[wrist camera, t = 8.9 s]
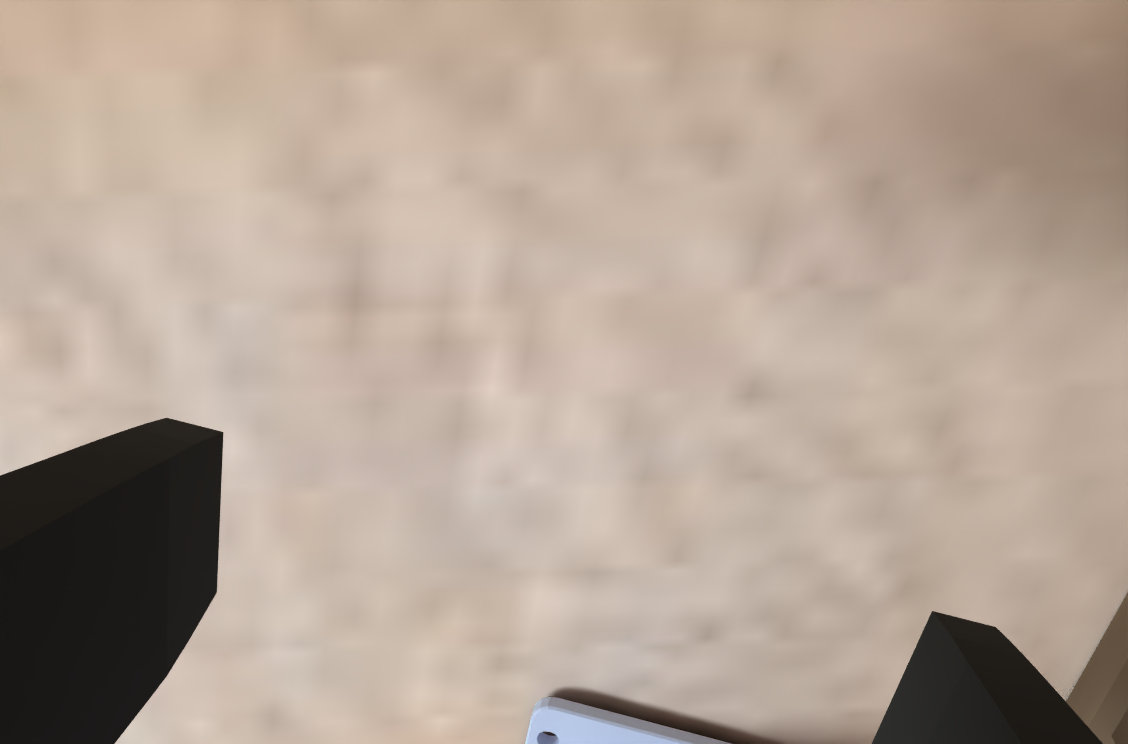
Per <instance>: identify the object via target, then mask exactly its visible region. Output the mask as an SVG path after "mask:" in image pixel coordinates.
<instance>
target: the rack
mask: <svg viewBox="0 0 1128 744" xmlns="http://www.w3.org/2000/svg"><path fill="white" fill-rule="evenodd" d="M1066 703H1067V704H1068V705H1069V706H1070V707H1071V708H1072V709H1073V710H1074V712H1075V713H1076V714H1077V715H1078V716H1079V717H1080V718H1081V719H1082V721H1083V722H1084V723H1085V724H1086V725H1087V726H1088V727H1089V728H1090V730H1091V731H1092V732H1093V733H1094V734H1095V735H1096V736H1097V737H1098V739H1099V740H1100V741H1101V742H1102V743H1103V744H1128V593H1127V595H1126V597H1125V598H1124V600H1123V602H1122V604H1121V606H1120V607H1119V609H1118V611H1117V613H1116V614H1115V616H1114V618H1113V620H1112V622H1111V623H1110V625H1109V627H1108V629H1107V630H1106V632H1105V634H1104V636H1103V637H1102V639H1101V641H1100V643H1099V645H1098V646H1097V648H1096V650H1095V652H1094V653H1093V655H1092V657H1091V659H1090V661H1089V662H1088V664H1087V666H1086V668H1085V669H1084V671H1083V673H1082V675H1081V677H1080V678H1079V680H1078V682H1077V684H1076V685H1075V687H1074V689H1073V691H1072V693H1071V694H1070V696H1069V698H1068V700H1067V701H1066Z"/></svg>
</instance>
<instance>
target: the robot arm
mask: <svg viewBox="0 0 1128 744" xmlns="http://www.w3.org/2000/svg"><path fill="white" fill-rule="evenodd" d="M222 451H223V432H221V431H217V430H213V429H209V428H205V427H201V426H197V425H193V424H189V423H185V422H181V421H177V420H173V419H169V418H164V419H161V420H157V421H153V422H150V423H146V424H143V425H140V426H137V427H134V428H131V429H128V430H125V431H122V432H119V433H116V434H114V435H111V436H108V437H105V438H102V439H99V440H97V441H94V442H91V443H88V444H86V445H83V446H80V447H78V448H75V449H72V450H69V451H67V452H64V453H61V454H59V455H56V456H53V457H50V458H48V459H45V460H42V461H39V462H37V463H34V464H31V465H28V466H26V467H23V468H20V469H17V470H15V471H12V472H9V473H6V474H4V475H1V476H0V744H114V743H115V742H116V741H117V740H118V738H119V737H120V736H121V734H122V733H123V732H124V731H125V729H126V728H127V727H128V725H129V724H130V723H131V722H132V720H133V719H134V718H135V716H136V715H137V714H138V713H139V711H140V710H141V709H142V708H143V706H144V705H145V704H146V702H147V701H148V700H149V699H150V697H151V696H152V695H153V693H154V692H155V691H156V689H157V688H158V687H159V685H160V684H161V683H162V682H163V680H164V679H165V678H166V676H167V675H168V673H169V671H170V670H171V668H172V667H173V665H174V663H175V662H176V660H177V659H178V657H179V655H180V654H181V652H182V650H183V649H184V647H185V646H186V644H187V642H188V641H189V639H190V638H191V636H192V634H193V632H194V631H195V629H196V627H197V625H198V624H199V622H200V620H201V619H202V617H203V615H204V613H205V612H206V610H207V608H208V606H209V605H210V603H211V601H212V600H213V598H214V596H215V594H216V593H217V573H218V548H219V524H220V499H221V475H222ZM544 731H546V732H552V733H554V734H556V736H549V735H547V734H544V733H543V732H544ZM525 744H731V743H727V742H724V741H720V740H716V739H712V738H708V737H705V736H701V735H697V734H693V733H690V732H686V731H682V730H678V729H674V728H671V727H667V726H663V725H659V724H656V723H652V722H648V721H644V720H640V719H637V718H633V717H629V716H625V715H621V714H618V713H614V712H610V711H606V710H603V709H599V708H595V707H591V706H587V705H584V704H580V703H576V702H572V701H569V700H565V699H561V698H556V697H547V698H543V699H541V700H540V701H538V702H537V703H536V705H535V707H534V709H533V713H532V717H531V721H530V725H529V729H528V734H527V738H526V742H525ZM872 744H1103V743H1102V742H1101V741H1100V740H1099V739H1098V737H1097V736H1096V735H1095V734H1094V733H1093V732H1092V731H1091V730H1090V728H1089V727H1088V726H1087V725H1086V724H1085V723H1084V722H1083V721H1082V719H1081V718H1080V717H1079V716H1078V715H1077V714H1076V713H1075V712H1074V710H1073V709H1072V708H1071V707H1070V706H1069V705H1068V704H1067V703H1066V702H1065V700H1064V699H1063V698H1062V697H1061V696H1060V695H1059V694H1058V693H1057V691H1056V690H1055V689H1054V688H1053V687H1052V686H1051V685H1050V684H1049V683H1048V681H1047V680H1046V679H1045V678H1044V677H1043V676H1042V675H1041V674H1040V673H1039V672H1038V670H1037V669H1036V668H1035V667H1034V666H1033V665H1032V664H1031V663H1030V662H1029V661H1028V660H1027V658H1026V657H1025V656H1024V655H1023V654H1022V653H1021V652H1020V651H1019V650H1018V649H1017V648H1016V647H1015V646H1014V645H1013V644H1012V643H1011V642H1010V641H1009V640H1008V639H1007V638H1006V637H1005V636H1004V635H1003V634H1002V633H1001V632H1000V631H999V630H998V629H997V628H996V627H993V626H989V625H985V624H981V623H977V622H973V621H969V620H965V619H961V618H957V617H953V616H950V615H946V614H942V613H938V612H934V611H932V613H931V615H930V617H929V619H928V622H927V624H926V626H925V628H924V630H923V633H922V635H921V637H920V639H919V641H918V643H917V646H916V648H915V650H914V652H913V654H912V657H911V659H910V661H909V663H908V665H907V668H906V670H905V672H904V674H903V676H902V679H901V681H900V683H899V685H898V687H897V690H896V692H895V694H894V696H893V698H892V701H891V703H890V705H889V707H888V709H887V711H886V714H885V716H884V718H883V720H882V722H881V725H880V727H879V729H878V731H877V733H876V736H875V738H874V740H873V742H872Z"/></svg>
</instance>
